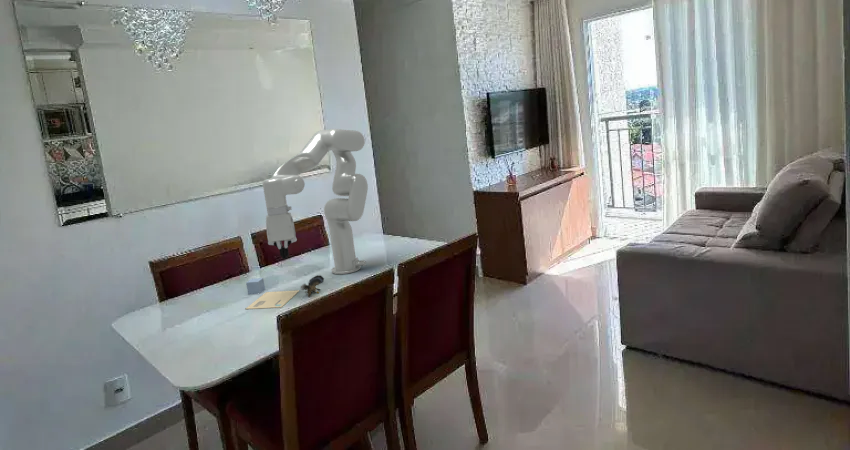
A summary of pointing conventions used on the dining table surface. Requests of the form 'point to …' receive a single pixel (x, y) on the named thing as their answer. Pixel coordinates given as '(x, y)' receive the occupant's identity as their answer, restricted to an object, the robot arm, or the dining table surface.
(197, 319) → the dining table surface
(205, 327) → the dining table surface
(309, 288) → the squirrel figurine
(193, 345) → the dining table surface
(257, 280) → the blue block
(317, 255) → the dining table surface
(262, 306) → the letter
